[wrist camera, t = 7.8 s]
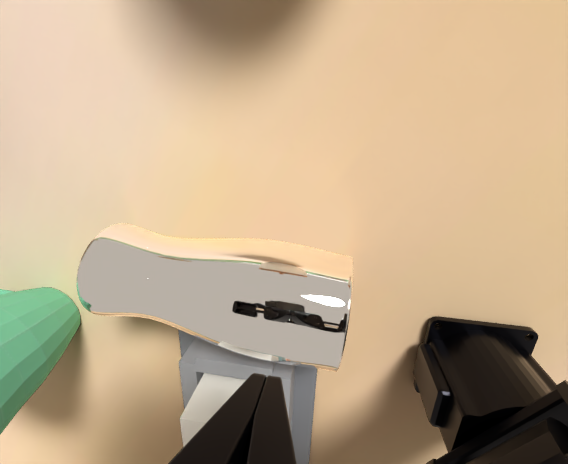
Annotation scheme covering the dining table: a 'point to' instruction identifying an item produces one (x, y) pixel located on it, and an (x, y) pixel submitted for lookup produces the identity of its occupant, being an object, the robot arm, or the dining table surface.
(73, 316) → the mug
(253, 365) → the keypad base
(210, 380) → the key ivory
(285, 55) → the dining table surface
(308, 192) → the dining table surface
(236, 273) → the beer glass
